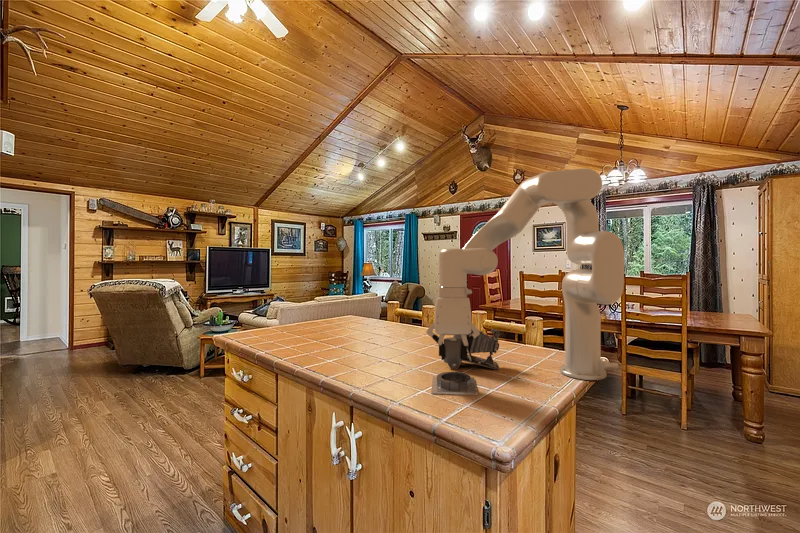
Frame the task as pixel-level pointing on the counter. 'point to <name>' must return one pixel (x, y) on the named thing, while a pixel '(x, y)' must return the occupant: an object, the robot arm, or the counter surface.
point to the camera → (481, 349)
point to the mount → (453, 384)
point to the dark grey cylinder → (452, 350)
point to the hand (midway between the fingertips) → (452, 358)
